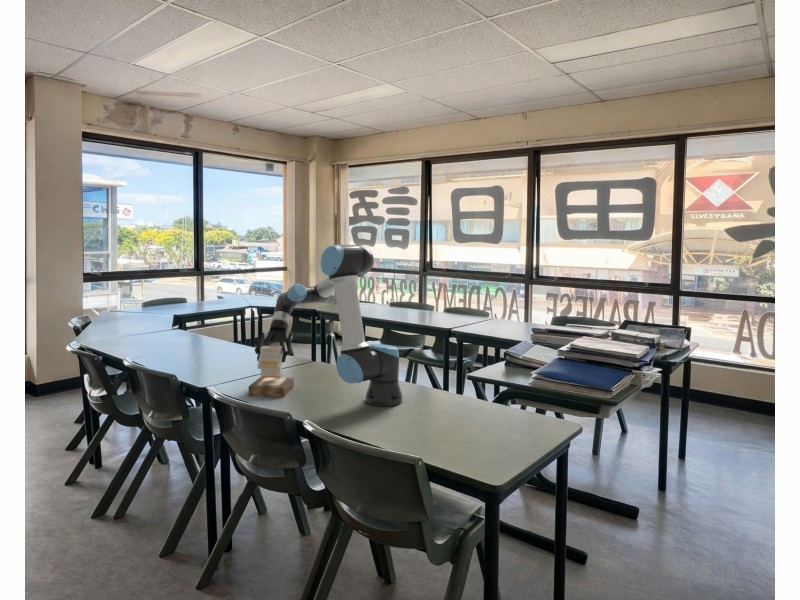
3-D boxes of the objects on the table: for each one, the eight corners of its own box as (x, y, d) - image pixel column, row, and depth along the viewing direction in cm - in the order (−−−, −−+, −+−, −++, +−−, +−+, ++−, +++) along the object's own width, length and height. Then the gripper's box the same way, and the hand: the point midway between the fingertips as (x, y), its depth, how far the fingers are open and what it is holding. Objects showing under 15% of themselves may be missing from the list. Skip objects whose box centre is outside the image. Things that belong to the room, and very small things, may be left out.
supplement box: (282, 375, 230) (282, 345, 229) (279, 378, 226) (279, 348, 224) (264, 374, 231) (263, 344, 229) (260, 377, 226) (259, 347, 225)
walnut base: (293, 386, 236) (293, 377, 235) (284, 397, 221) (283, 386, 220) (260, 385, 237) (260, 376, 236) (248, 395, 222) (248, 385, 222)
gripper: (304, 329, 240) (295, 373, 227) (258, 327, 242) (247, 371, 228) (301, 319, 235) (291, 364, 221) (254, 318, 236) (242, 362, 222)
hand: (269, 367), depth 224 cm, fingers closed on supplement box, 8 cm apart
